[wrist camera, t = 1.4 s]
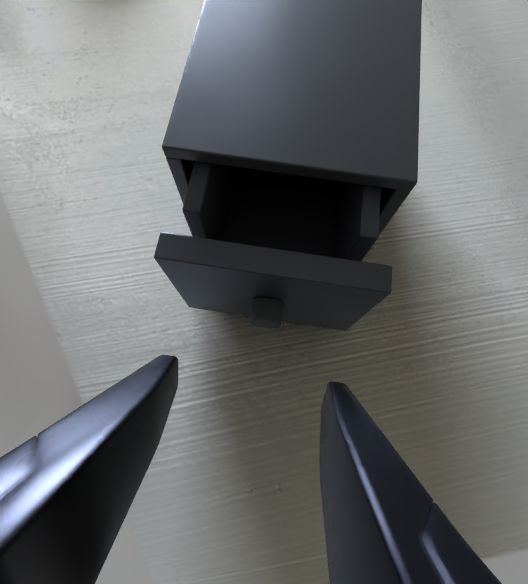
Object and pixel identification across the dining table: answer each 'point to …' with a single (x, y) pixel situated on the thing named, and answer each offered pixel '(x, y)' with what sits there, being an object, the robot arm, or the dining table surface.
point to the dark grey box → (303, 93)
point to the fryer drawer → (277, 247)
